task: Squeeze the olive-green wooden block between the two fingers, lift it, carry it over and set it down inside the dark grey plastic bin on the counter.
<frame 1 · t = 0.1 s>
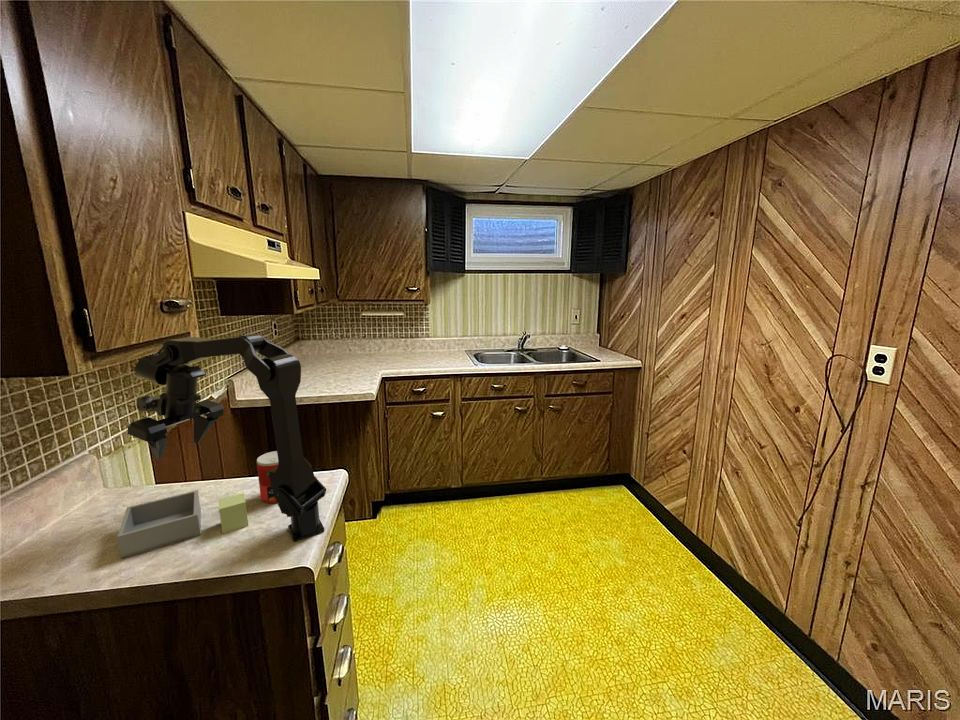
hand: (178, 450, 92), 15 cm above the counter, tool pointing down, fingers open, 9 cm apart
grey bin: (165, 531, 86), on the counter
canned food: (277, 496, 101), on the counter
green block: (235, 524, 89), on the counter
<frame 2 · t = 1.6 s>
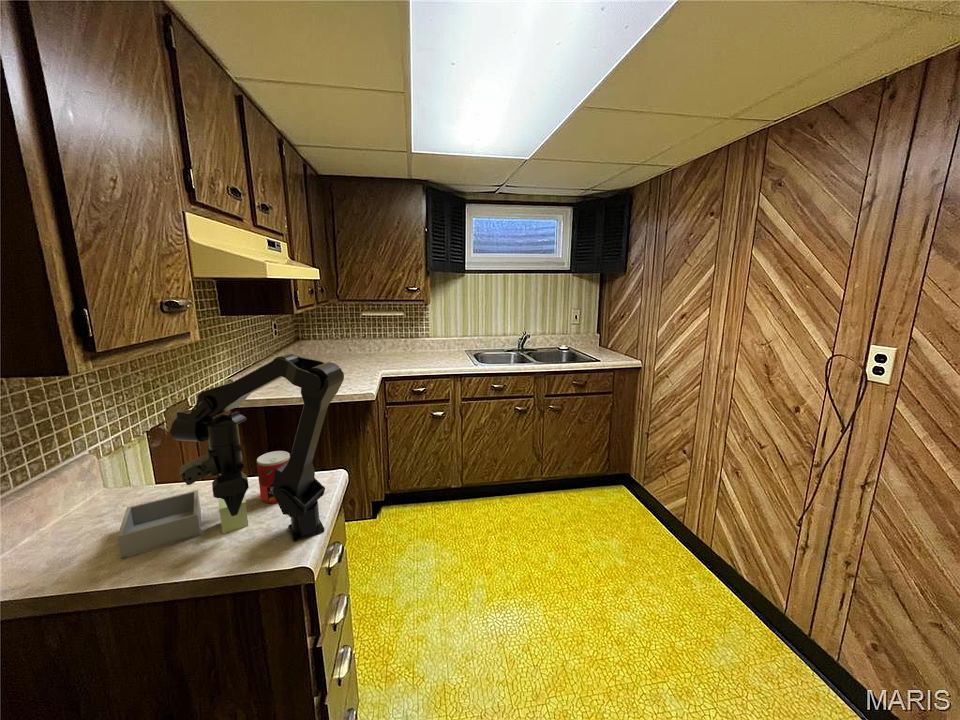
hand: (233, 505, 88), 5 cm above the counter, tool pointing down, fingers open, 9 cm apart
nothing on the counter moved.
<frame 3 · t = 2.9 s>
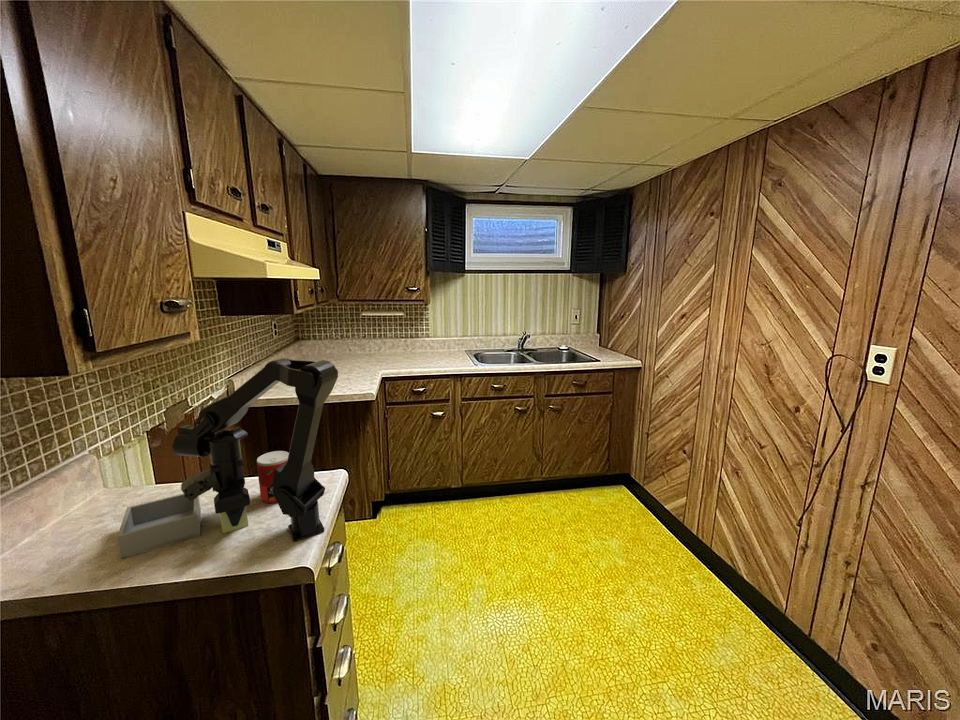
hand: (234, 520, 89), 1 cm above the counter, tool pointing down, fingers closed on green block, 5 cm apart
green block: (234, 524, 89), on the counter, touching gripper
everything else where it was.
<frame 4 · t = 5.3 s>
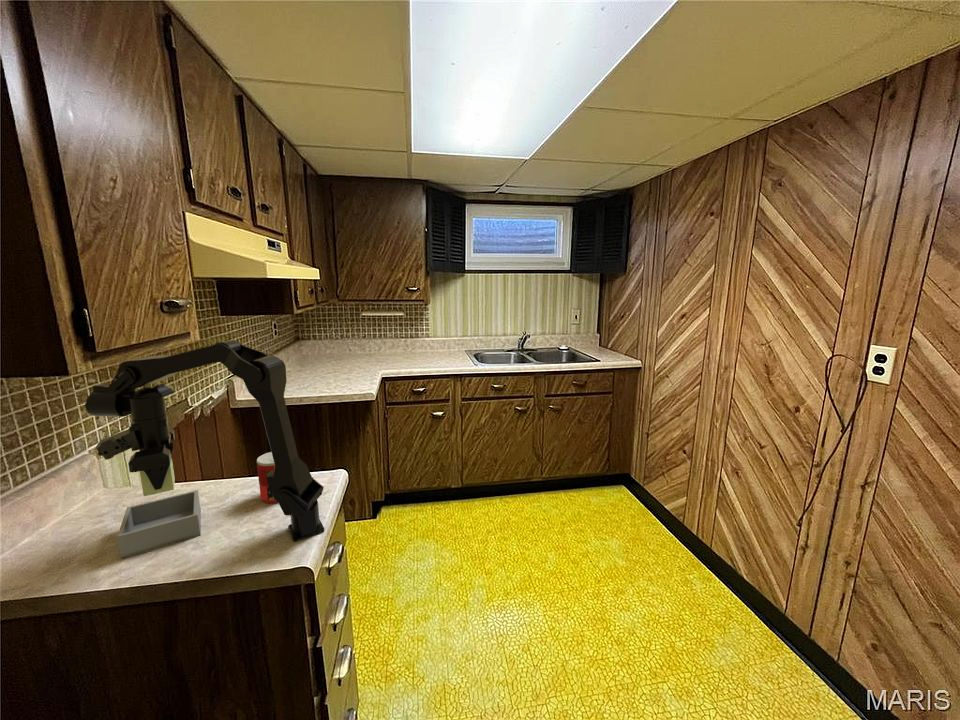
hand: (159, 483, 85), 11 cm above the counter, tool pointing down, fingers closed on green block, 5 cm apart
green block: (159, 488, 85), point 10 cm above the counter, touching gripper
everything else where it was.
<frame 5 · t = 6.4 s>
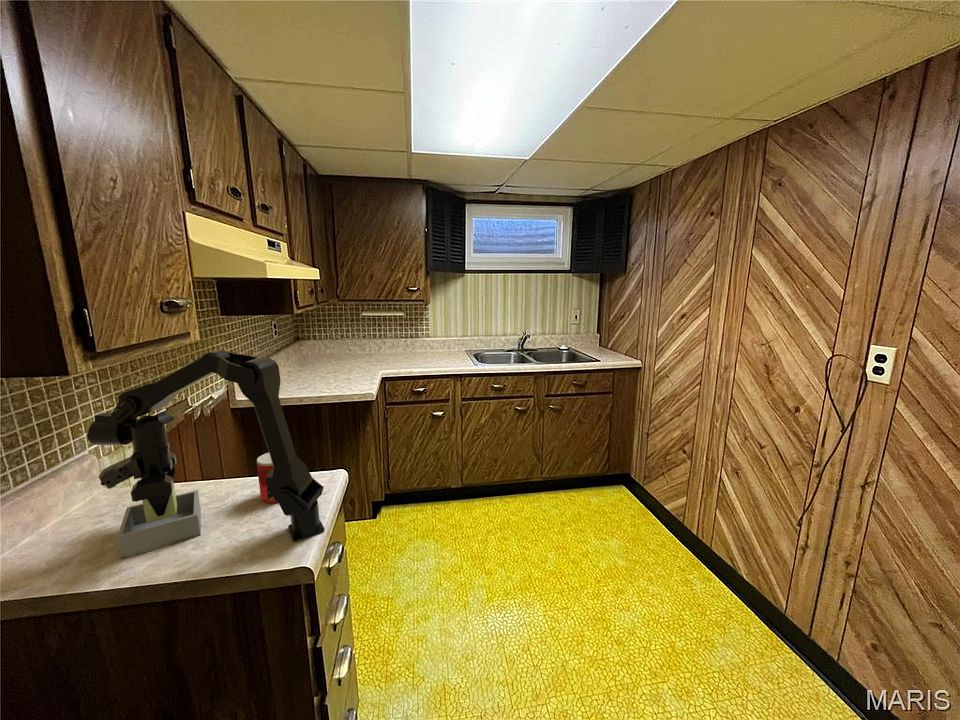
hand: (161, 509, 86), 5 cm above the counter, tool pointing down, fingers closed on green block, 5 cm apart
green block: (162, 513, 86), point 4 cm above the counter, touching gripper
everything else where it was.
when the fingers open (4 cm above the counter, at t = 7.5 s): green block drops 2 cm, resting on grey bin.
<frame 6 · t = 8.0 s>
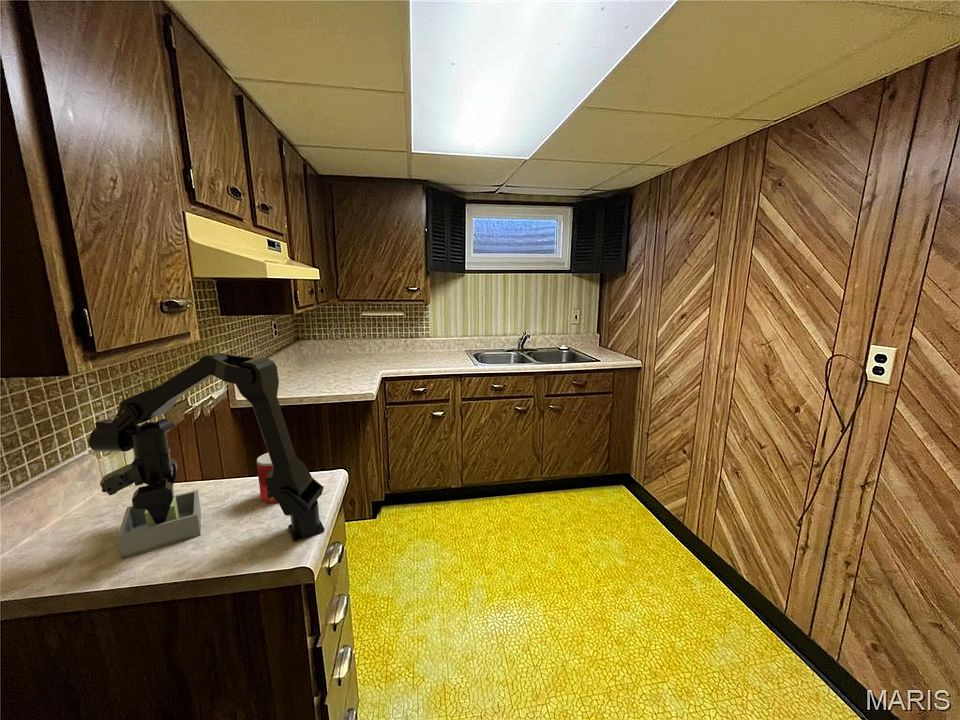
hand: (162, 515, 86), 4 cm above the counter, tool pointing down, fingers open, 9 cm apart
green block: (164, 528, 86), point 1 cm above the counter, touching grey bin
everything else where it was.
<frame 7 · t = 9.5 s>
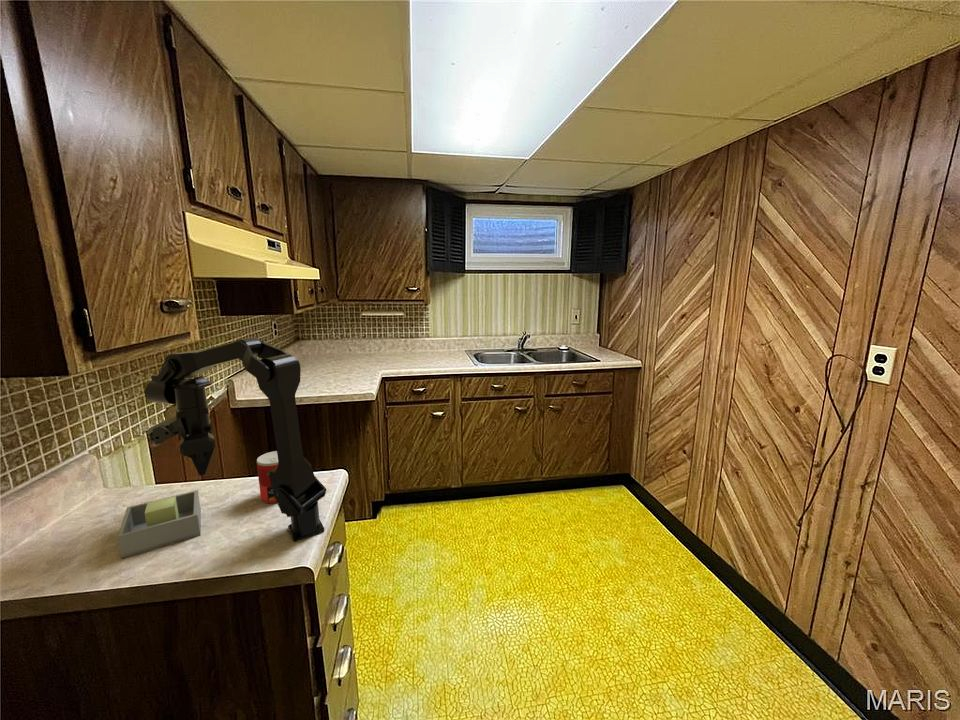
hand: (201, 467, 92), 11 cm above the counter, tool pointing down, fingers open, 9 cm apart
nothing on the counter moved.
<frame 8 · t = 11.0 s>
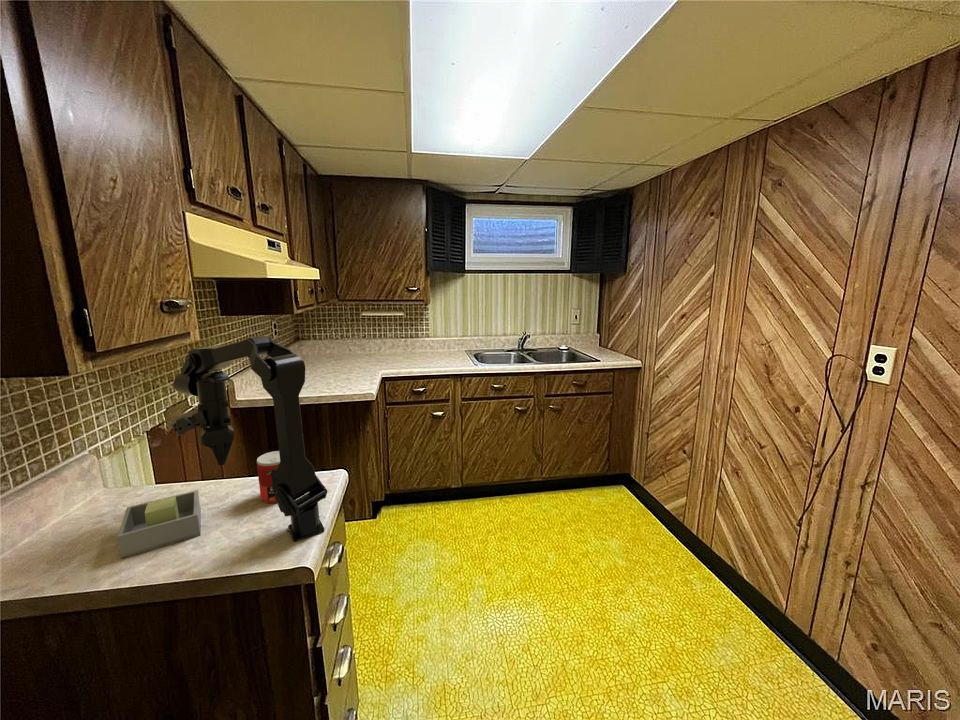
hand: (221, 458, 96), 12 cm above the counter, tool pointing down, fingers open, 9 cm apart
nothing on the counter moved.
at the end: green block inside the target area on the grey bin (0.0 cm from its centre), point 0.6 cm above the grey bin's base; the gripper is holding nothing; green block tilted 0° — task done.
